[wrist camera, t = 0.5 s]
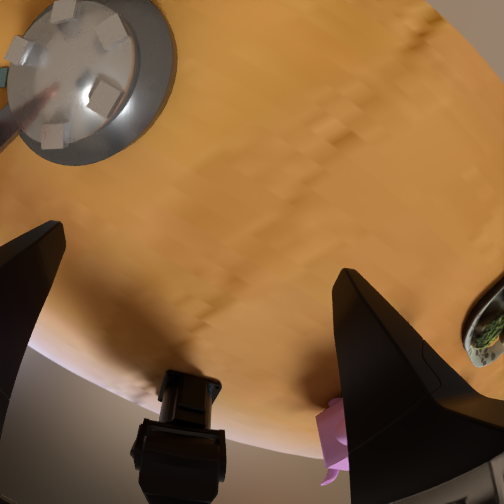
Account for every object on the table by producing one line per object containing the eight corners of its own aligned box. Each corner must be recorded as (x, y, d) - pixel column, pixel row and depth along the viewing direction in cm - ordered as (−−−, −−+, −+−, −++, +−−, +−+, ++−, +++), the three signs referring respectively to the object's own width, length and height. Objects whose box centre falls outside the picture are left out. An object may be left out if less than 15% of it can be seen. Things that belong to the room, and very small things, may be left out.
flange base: (142, 181, 22) (134, 188, 21) (-34, 128, 18) (-47, 133, 16) (207, 8, 16) (204, 0, 15) (3, -8, 12) (-10, -11, 10)
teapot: (318, 368, 33) (338, 451, 23) (421, 348, 33) (457, 416, 23) (310, 430, 40) (321, 493, 31) (392, 413, 40) (413, 470, 31)
